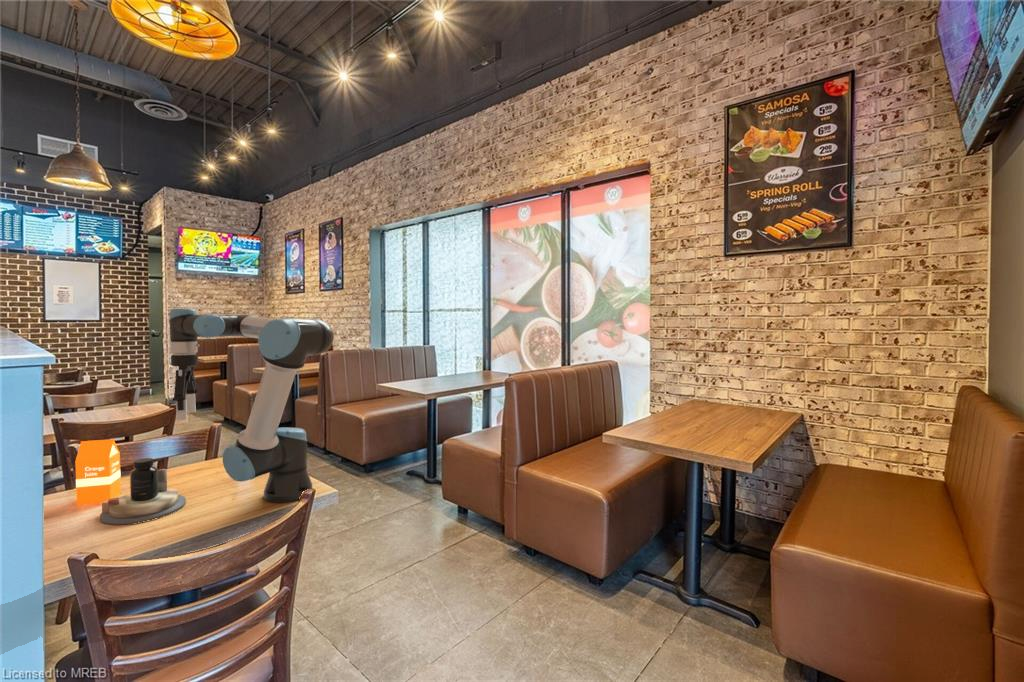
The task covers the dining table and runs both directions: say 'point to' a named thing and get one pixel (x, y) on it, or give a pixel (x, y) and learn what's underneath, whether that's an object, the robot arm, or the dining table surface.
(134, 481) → the supplement bottle
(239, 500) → the dining table surface
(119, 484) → the orange juice
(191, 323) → the robot arm
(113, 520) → the base
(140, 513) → the turntable
